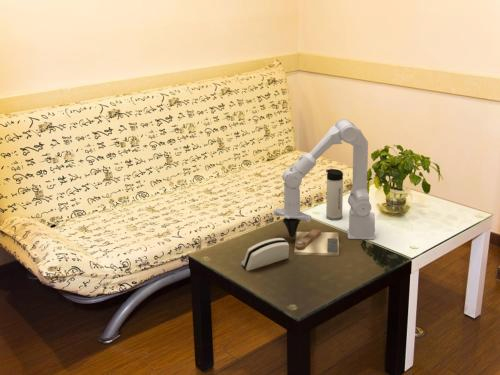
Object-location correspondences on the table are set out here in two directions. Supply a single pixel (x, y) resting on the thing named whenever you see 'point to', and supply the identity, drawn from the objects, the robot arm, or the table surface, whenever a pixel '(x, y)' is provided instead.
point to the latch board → (317, 244)
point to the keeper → (332, 245)
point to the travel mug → (334, 194)
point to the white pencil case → (266, 253)
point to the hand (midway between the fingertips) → (292, 235)
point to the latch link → (307, 239)
